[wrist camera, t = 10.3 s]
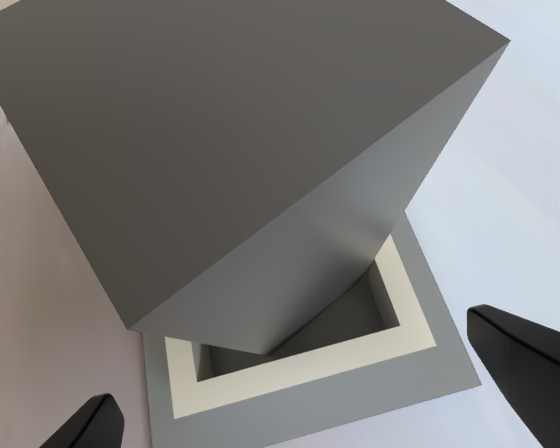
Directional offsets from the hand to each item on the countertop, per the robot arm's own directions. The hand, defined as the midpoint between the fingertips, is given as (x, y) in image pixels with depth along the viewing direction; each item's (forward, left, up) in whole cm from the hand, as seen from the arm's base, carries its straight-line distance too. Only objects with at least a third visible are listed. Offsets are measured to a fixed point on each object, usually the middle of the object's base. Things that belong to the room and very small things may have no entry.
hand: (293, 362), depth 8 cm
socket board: (+4, 0, -8) cm, 9 cm away
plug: (+4, 0, -7) cm, 8 cm away
